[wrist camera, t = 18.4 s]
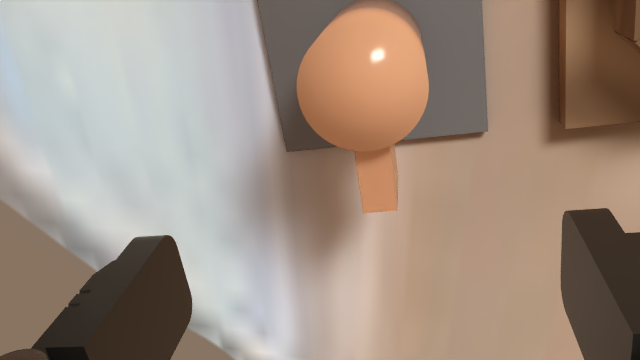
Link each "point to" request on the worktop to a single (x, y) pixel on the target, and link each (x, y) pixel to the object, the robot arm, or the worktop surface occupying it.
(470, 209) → the worktop surface
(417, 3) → the charcoal mat
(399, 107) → the peach ice lolly
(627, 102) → the walnut holder
